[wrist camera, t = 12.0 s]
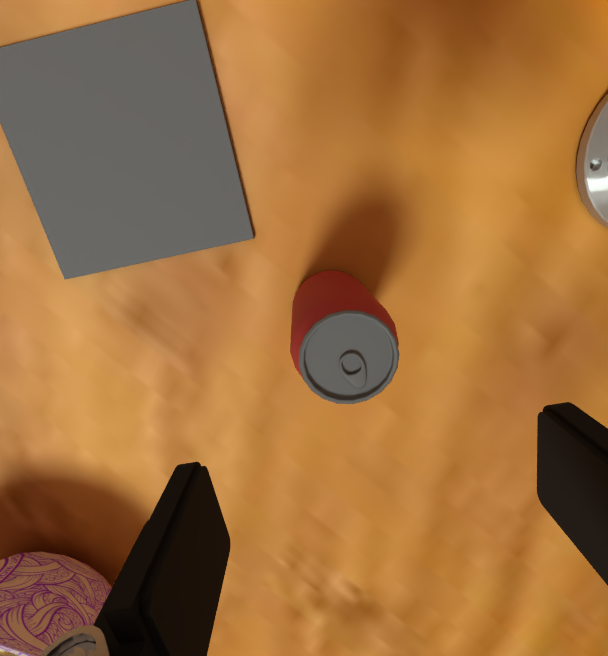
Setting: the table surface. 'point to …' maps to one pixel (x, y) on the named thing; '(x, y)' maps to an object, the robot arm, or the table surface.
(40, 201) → the slate mat
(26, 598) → the bowl of food
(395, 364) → the beer can
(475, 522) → the table surface
